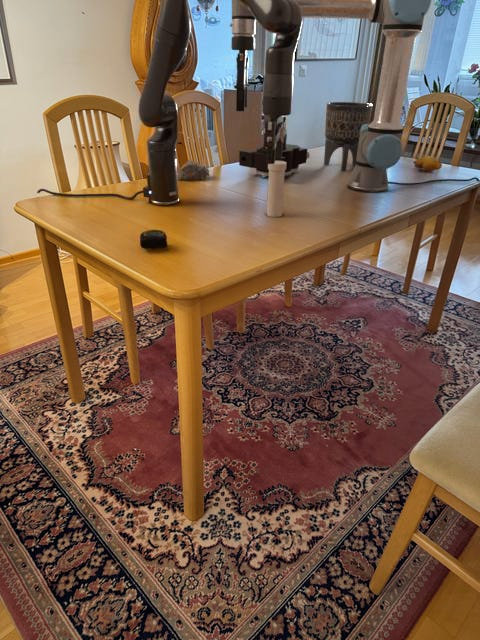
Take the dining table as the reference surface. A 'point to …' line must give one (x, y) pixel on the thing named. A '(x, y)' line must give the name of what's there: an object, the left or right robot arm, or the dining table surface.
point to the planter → (344, 129)
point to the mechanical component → (289, 155)
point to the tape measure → (153, 239)
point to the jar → (275, 193)
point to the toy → (427, 164)
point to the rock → (192, 171)
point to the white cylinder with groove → (277, 166)
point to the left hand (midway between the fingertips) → (274, 160)
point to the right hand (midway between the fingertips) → (241, 109)
